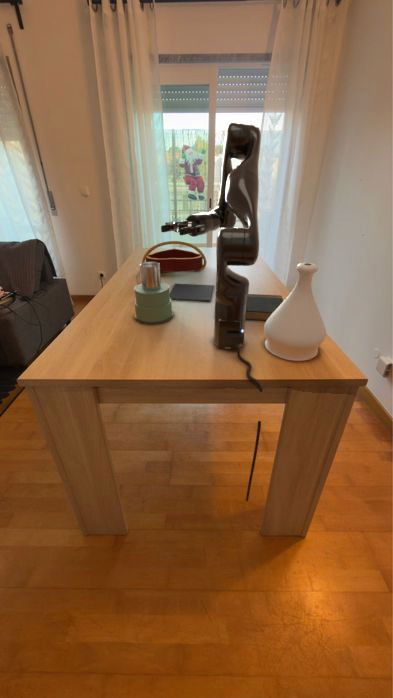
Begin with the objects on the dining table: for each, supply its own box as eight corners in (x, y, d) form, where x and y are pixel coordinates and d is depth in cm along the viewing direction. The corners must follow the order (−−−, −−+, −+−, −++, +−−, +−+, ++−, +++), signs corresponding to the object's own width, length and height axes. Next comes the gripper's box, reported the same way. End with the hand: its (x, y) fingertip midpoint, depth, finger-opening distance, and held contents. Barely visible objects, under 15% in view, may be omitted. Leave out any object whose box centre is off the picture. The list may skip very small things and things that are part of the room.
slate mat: (209, 301, 115) (209, 300, 115) (166, 299, 118) (166, 298, 117) (213, 286, 131) (213, 285, 130) (175, 284, 133) (175, 283, 132)
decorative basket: (206, 266, 165) (206, 239, 159) (206, 274, 138) (206, 242, 132) (148, 267, 166) (146, 240, 159) (138, 275, 139) (134, 243, 133)
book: (215, 318, 103) (285, 322, 100) (215, 309, 101) (287, 313, 98) (218, 299, 117) (280, 302, 114) (219, 291, 115) (281, 294, 112)
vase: (255, 333, 93) (265, 256, 80) (307, 331, 94) (325, 254, 81) (271, 364, 78) (286, 275, 65) (331, 361, 79) (359, 273, 66)
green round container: (168, 325, 98) (166, 295, 92) (129, 323, 99) (125, 293, 93) (176, 309, 109) (175, 281, 103) (141, 307, 111) (138, 279, 105)
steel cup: (158, 291, 95) (156, 267, 91) (139, 290, 96) (137, 266, 92) (163, 284, 101) (161, 261, 96) (145, 283, 102) (143, 261, 97)
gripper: (185, 211, 109) (155, 216, 98) (215, 215, 102) (186, 220, 91) (185, 232, 113) (156, 239, 102) (214, 237, 106) (187, 244, 95)
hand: (170, 230), depth 97 cm, fingers open, 8 cm apart
